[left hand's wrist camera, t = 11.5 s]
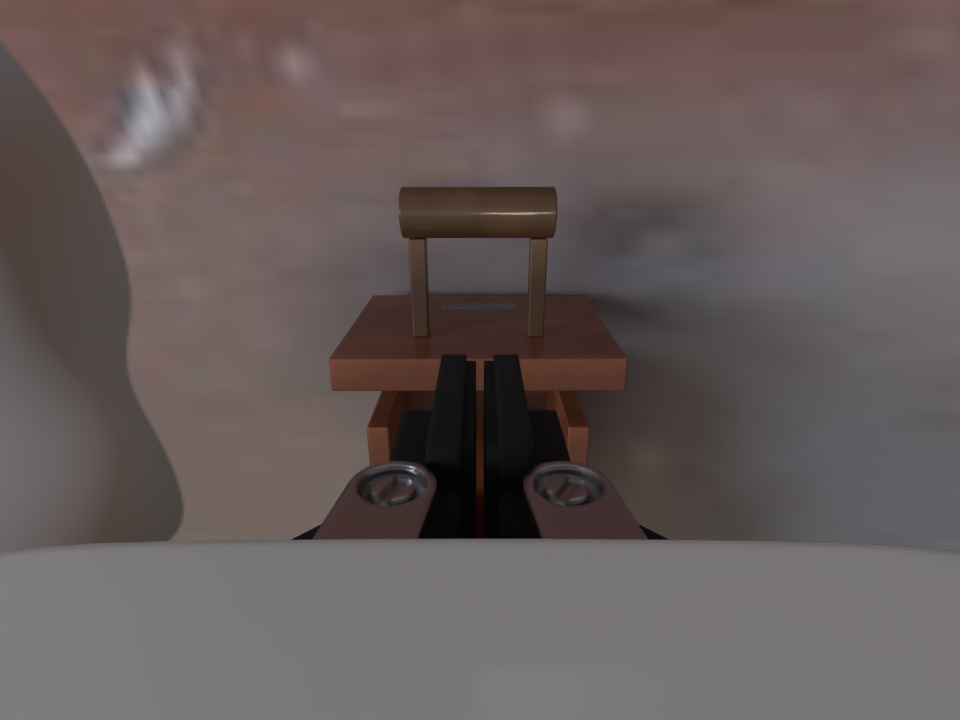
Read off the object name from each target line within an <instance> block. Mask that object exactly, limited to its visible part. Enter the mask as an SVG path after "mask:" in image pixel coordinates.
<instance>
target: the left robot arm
mask: <svg viewBox="0 0 960 720" xmlns="http://www.w3.org/2000/svg"><path fill="white" fill-rule="evenodd" d="M0 720H960V553H959V552H953V551H946V550H937V549H929V548H920V547H910V546H894V545H878V544H862V543H828V542H791V541H744V540H668V539H666V538H664V537H663V536H661V535H659V534H657V533H655V532H653V531H651V530H649V529H647V528H645V527H643V526H641V525H639V524H638V523H637V521H636V520H635V518H634V517H633V515H632V514H631V512H630V511H629V509H628V508H627V506H626V504H625V503H624V501H623V500H622V498H621V497H620V495H619V494H618V492H617V491H616V489H615V487H614V486H613V484H612V483H611V481H610V480H609V479H608V478H607V477H606V476H605V475H604V474H603V473H602V472H600V471H598V470H597V469H595V468H593V467H590V466H588V465H585V464H582V463H577V462H571V460H570V457H569V453H568V450H567V446H566V443H565V439H564V436H563V432H562V429H561V425H560V422H559V418H558V415H557V412H556V410H528V406H527V401H526V395H525V390H524V384H523V379H522V373H521V367H520V362H519V356H518V354H494V356H493V361H484V539H476V361H467V356H466V354H442V356H441V362H440V367H439V373H438V379H437V384H436V390H435V395H434V401H433V406H432V410H404V412H403V415H402V418H401V422H400V425H399V429H398V432H397V436H396V439H395V443H394V446H393V450H392V453H391V457H390V460H389V462H383V463H378V464H375V465H372V466H370V467H367V468H365V469H363V470H362V471H360V472H358V473H357V474H356V475H355V476H354V477H353V478H352V479H351V480H350V481H349V483H348V484H347V486H346V487H345V489H344V491H343V492H342V494H341V495H340V497H339V498H338V500H337V501H336V503H335V504H334V506H333V508H332V509H331V511H330V512H329V514H328V515H327V517H326V518H325V520H324V521H323V523H322V524H321V525H319V526H317V527H315V528H313V529H311V530H309V531H307V532H305V533H303V534H301V535H299V536H297V537H296V538H294V539H292V540H229V541H165V542H133V543H100V544H80V545H66V546H52V547H39V548H31V549H23V550H16V551H9V552H1V553H0Z"/></svg>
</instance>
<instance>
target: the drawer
mask: <svg viewBox="0 0 960 720" xmlns="http://www.w3.org/2000/svg"><path fill="white" fill-rule="evenodd" d="M556 220H557V195H556V189H555V187H402V188H401V189H400V194H399V221H400V229H401V234H402V237H403V238H410V239H409V241H408V242H409V263H410V284H411V296H373V297H372V298H371V300H370V301H369V303H368V304H367V305H366V307H365V308H364V310H363V311H362V313H361V314H360V315H359V317H358V318H357V320H356V321H355V323H354V324H353V325H352V327H351V328H350V330H349V331H348V333H347V334H346V336H345V337H344V338H343V340H342V341H341V343H340V344H339V346H338V347H337V348H336V350H335V351H334V353H333V354H332V356H331V357H330V358H329V367H330V376H331V385H332V391H381V394H380V397H379V399H378V402H377V404H376V407H375V409H374V412H373V414H372V417H371V419H370V422H369V424H368V427H367V437H368V449H369V460H370V466H372V465H375V464H378V463H383V462H389V460H390V457H391V453H392V450H393V446H394V443H395V439H396V436H397V432H398V429H399V425H400V422H401V418H402V415H403V412H404V410H432V406H433V401H434V395H435V390H436V384H437V379H438V373H439V367H440V362H441V356H442V354H466V356H467V361H476V539H484V361H493V356H494V354H518V356H519V362H520V367H521V373H522V379H523V384H524V390H525V395H526V401H527V406H528V410H556V412H557V415H558V418H559V422H560V425H561V429H562V432H563V436H564V439H565V443H566V446H567V450H568V453H569V457H570V460H571V462H577V463H582V464H585V465H587V457H588V445H589V432H590V428H589V425H588V423H587V420H586V417H585V415H584V412H583V410H582V407H581V404H580V402H579V399H578V397H577V394H576V391H623V390H624V389H625V379H626V369H627V358H626V356H625V355H624V353H623V352H622V350H621V349H620V347H619V346H618V344H617V343H616V342H615V340H614V339H613V337H612V336H611V334H610V333H609V331H608V330H607V328H606V327H605V325H604V324H603V322H602V321H601V320H600V318H599V317H598V315H597V314H596V312H595V311H594V309H593V308H592V306H591V305H590V303H589V302H588V301H587V299H586V298H585V296H584V295H545V292H546V269H547V246H548V240H547V238H552V237H554V234H555V229H556ZM426 238H530V242H529V274H528V295H429V290H428V262H427V239H426Z"/></svg>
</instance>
